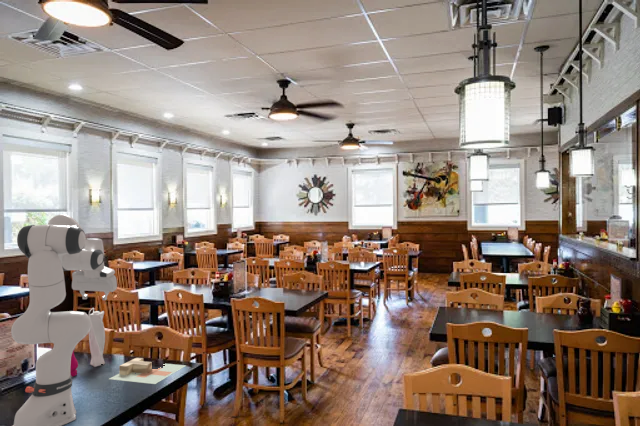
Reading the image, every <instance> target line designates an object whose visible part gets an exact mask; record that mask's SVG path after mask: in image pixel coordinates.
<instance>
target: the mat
mask: <svg viewBox="0 0 640 426" xmlns="http://www.w3.org/2000/svg"><path fill="white" fill-rule="evenodd" d="M163 365H165V366H163V368H161V367H160V368H158V369H152V371H151V372H149V373H147V374H146V373H136V372H132V373H130V374H128V375H120V373H117V374H115V375H114V376H112V377H109V378H108V380H114V381H123V382H133V383H141V384H151V385H157V384H158V383H159V382H161V381H163V380H165V379H166V378H168V377H169V376H171V375H173V374H175V373H177V372H178V371H179V370H181V369H183V368H185V367H186V366H187V365H184V364H173V363H165V364H163ZM135 373H136V374H135Z"/></svg>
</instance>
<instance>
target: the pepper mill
mask: <svg viewBox="0 0 640 426" xmlns="http://www.w3.org/2000/svg"><path fill="white" fill-rule="evenodd" d="M75 349H76V347H75V348H74V350H73V352H72V356H71V366H70V375H71V376H72V378H73V377H75V376H77V375H78V370H77V369H78V367H79V362H78V359H77V358H76V356H75Z"/></svg>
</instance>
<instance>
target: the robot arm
mask: <svg viewBox="0 0 640 426" xmlns="http://www.w3.org/2000/svg"><path fill="white" fill-rule="evenodd" d="M16 242H17V247H18V249H19V250H20V252H21V253H22V254H24V256H25V257H26V258H27V259H28V263H27V281H28V282H27V283H28V289H29V290H28V291H29V304H28V306H27V309H26V310H25V311H24V313H23V314H21V315H20V316H19V317H17V318H16V319H15V320H14V321H13V324H12V326H11V330H10V333H11V338H12V340H14V342H16V343H17V344H22V345H41V344H49V343H50V344H51V343H52V344H53V348H52V349H51V350H49V351H46V352H45V353H43V354H42V355H40V356H39V357H38V358H37V360H36V362H35V382H34V385H33V386H26V388H25V390H24V391H25V393H28V394H30V393H31V395H30V396H29V398H27V400H26V401H25V403H23V404H22V406H21V407H20V408H19V409H18V410H17V411H16V413H15V415H14V418H13V419H14V421H13V425H12V426H64V425H67V424H68V423H71V422H73V421H75V420H76V419H77V410H76V407H75V404H74V399H73V393H72V387H73V377H72V376H71V375H70V366H71V356H72V352H73V350H74V351H75V349H76V347H77V345H78V344H79V342H81V341H82V340H83V339H85V338H86V336H87V335H89V331H90V328H91V320H90V317H89V314H87V312H85V311H77V310H69V311H68V310H67V311H51V309H54V308H55V307H57V306H59V305H60V304H62V303H63V302H64V301H65V299H66V296H67V292H66V281H65V274H64V272H66V271H73V272H72V274H71V278H72V281H71V289H72V290H73V291H79V293H80V295H81V296H82V300H87V299H88V294H86V293H85V292H86V291H88V292H104V295H103V296H102V297H101V299H102V301H106V300H108V295H109V294H110V293H113V292H115V291H116V290H118V281H117V277H116V275H115V274H116V270H115V269H114V268H110V267H107V266H105V261H104V258H105V250H104V242H103V239H101V238H99V237H98V238H97V237H96V238H93V237H91V238H89V237H87V238H86V233H85V230H84V229H83V227H82V226H81V224H79V222H77V221H76V220H75V219H74V218H73V217H72V216H70V215H68V214H63V213H62V214H57V215H55V216H53V217H52V218H50V220H48V223H47V224H37V225H35V224H30V225H25V226H23V227H21V229H20V230H19V231H18V233H17V237H16ZM74 348H75V349H74Z"/></svg>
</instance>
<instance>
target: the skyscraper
mask: <svg viewBox="0 0 640 426" xmlns="http://www.w3.org/2000/svg"><path fill="white" fill-rule="evenodd" d="M91 311H92V313H91ZM104 315H105V311H104V310H102V311H100V310H96V311H95V308H94V307H92V308H90V309H89V311H88V316H89V317H90V320H91V328H90V331H89V333H88V340H89V341H88V343H89V349H90V350H89V351H90V355H91V359H90V363H89V365H90V366H93V367H94V368H96V367H100V366H102V365H101V364H103V365H106V362H105V359H104V355H103V354H104V349H105V342H106V331H105V326H104V322H103V319H104Z"/></svg>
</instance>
